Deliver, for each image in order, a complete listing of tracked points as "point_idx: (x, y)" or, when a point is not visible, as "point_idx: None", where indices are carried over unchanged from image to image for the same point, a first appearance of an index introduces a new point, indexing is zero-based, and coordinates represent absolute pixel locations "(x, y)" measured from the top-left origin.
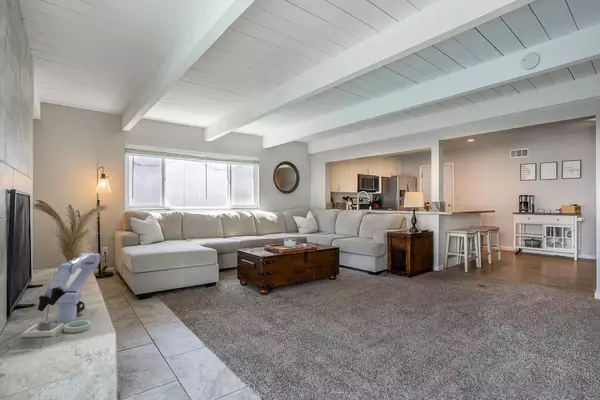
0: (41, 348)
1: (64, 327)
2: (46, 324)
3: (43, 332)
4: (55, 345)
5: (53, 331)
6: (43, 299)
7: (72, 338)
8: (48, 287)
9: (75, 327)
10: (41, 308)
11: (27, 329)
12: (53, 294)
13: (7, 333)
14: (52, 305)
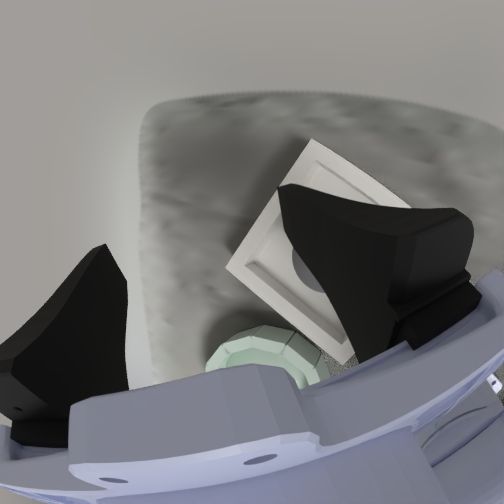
0: (151, 198)
1: (267, 336)
2: (293, 257)
3: (251, 228)
4: (149, 244)
5: (230, 270)
6: (353, 258)
7: (180, 317)
8: (70, 424)
9: (212, 362)
10: (286, 219)
11: (359, 169)
12: (37, 317)
13: (454, 119)
14: (124, 282)
